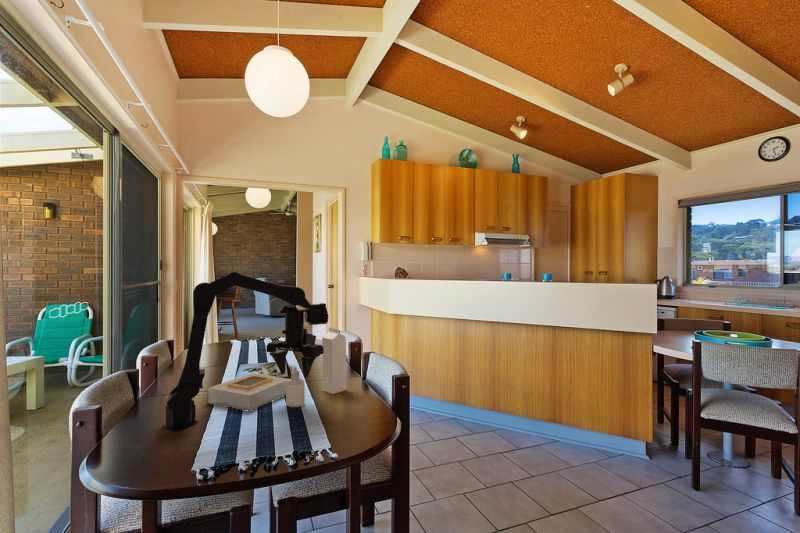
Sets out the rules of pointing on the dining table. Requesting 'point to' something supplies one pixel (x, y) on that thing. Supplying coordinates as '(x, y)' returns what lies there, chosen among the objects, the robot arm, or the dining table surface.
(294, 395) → the eye dropper bottle
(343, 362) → the milk
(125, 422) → the dining table surface
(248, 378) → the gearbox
